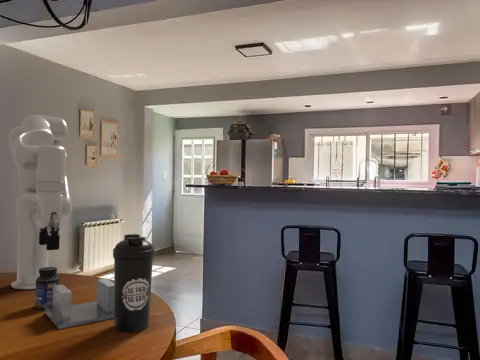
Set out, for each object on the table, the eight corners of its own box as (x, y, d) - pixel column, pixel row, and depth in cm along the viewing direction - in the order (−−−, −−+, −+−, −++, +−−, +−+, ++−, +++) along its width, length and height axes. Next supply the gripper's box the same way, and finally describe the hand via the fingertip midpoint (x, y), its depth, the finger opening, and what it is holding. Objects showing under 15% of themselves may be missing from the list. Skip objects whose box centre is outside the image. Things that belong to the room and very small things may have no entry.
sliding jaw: (96, 303, 111) (97, 279, 111) (105, 302, 113) (106, 278, 113) (107, 312, 104) (108, 286, 104) (116, 310, 106) (117, 285, 106)
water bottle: (114, 336, 91) (117, 239, 91) (107, 322, 100) (110, 233, 100) (156, 330, 95) (159, 237, 96) (146, 316, 105) (149, 232, 105)
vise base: (43, 313, 105) (43, 284, 105) (110, 301, 116) (111, 275, 117) (55, 330, 94) (56, 297, 94) (129, 315, 105) (129, 286, 106)
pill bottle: (48, 310, 107) (49, 271, 107) (29, 308, 109) (31, 269, 109) (63, 304, 113) (64, 266, 113) (45, 302, 115) (46, 265, 115)
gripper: (30, 186, 115) (28, 243, 115) (42, 189, 102) (40, 253, 102) (57, 187, 120) (55, 241, 120) (72, 189, 107) (70, 250, 107)
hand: (48, 247), depth 111 cm, fingers open, 9 cm apart
